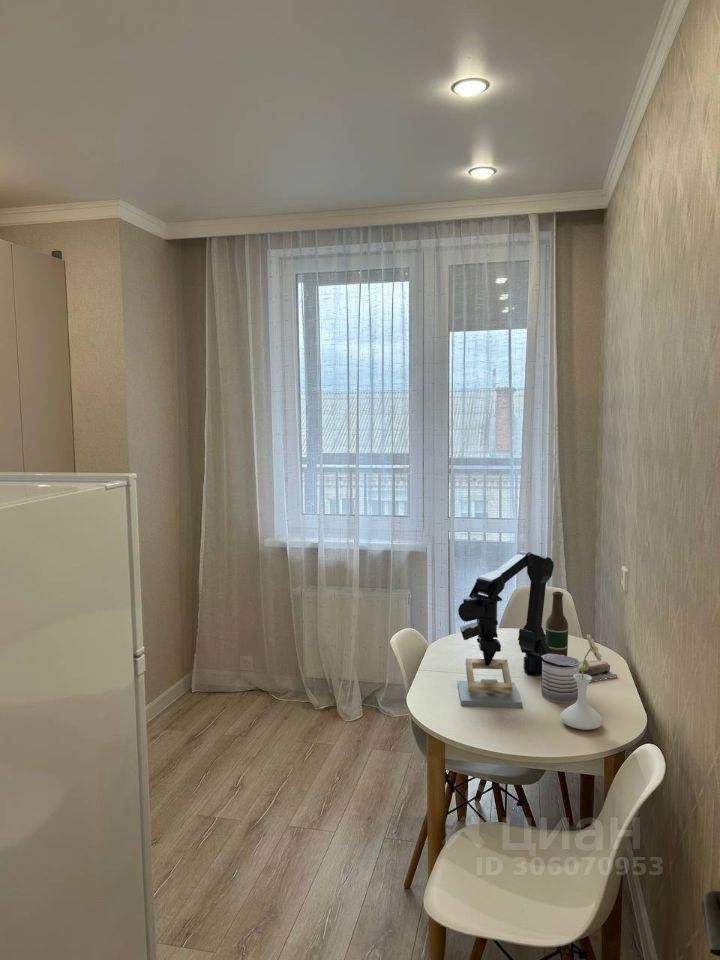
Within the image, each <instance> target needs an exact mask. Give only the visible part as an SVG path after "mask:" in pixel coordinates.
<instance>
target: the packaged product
mask: <svg viewBox="0 0 720 960" xmlns="http://www.w3.org/2000/svg"><path fill="white" fill-rule="evenodd" d="M579 662H580V661H579ZM587 662H588V665H589V668H588V669H587V668H586V667H585V665H584V668H586V669H587V670H585V671H583V674H587V675H589V676H591V677H592V679H591V680H590V681H593V682H596V681H595V680H600V679H605V678H610V677H615V676H617V677H618V674H617V673H616V672H613V671H611V664H609V663H608V662H607V661H605V660H602V661H598V660H597V659H595V660H594V659H593V660H587ZM580 663H581V664H579V670H580V669H582V668H583V661H581V662H580ZM579 674H582V671H579ZM600 681H601V680H600Z"/></svg>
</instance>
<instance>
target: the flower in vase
mask: <svg viewBox="0 0 720 960" xmlns="http://www.w3.org/2000/svg"><path fill="white" fill-rule="evenodd" d="M586 639H587V642H588V645H589V649H588V650H587V652H586V654H585V655H584V658H583V661H582V662H583V668H582V669H580V670H578V671H582V674H574V675H573V677H574V678H575V680H576V682H577V687H578V699H577V700H576V701H575V702H574V703H573V704H572V705H569V706H568V707H566V708H564V710H563V711H561V713H560V715H559V717H560V720H561V721H562V722H563V724H565V725H566V726H569V727H570V728H574V729H576V730H577V729H578V730H583V731H585V730H586V731H589V730H596V729H599V728H600V727H601V726H602V725H603V724H604V720H603V718H602V716H601V715H600V714H599V713H598V712H597V710H595V709H594V708H593V707H592V706H591V705H589V704H588V701H587V700H588V699H587V690H588V686H589V683H591V682H590V680H591V679H592V677H591V676H589V675H587V674H583V671H585V670H587V669H588V668H589V665H588V662H587V661H588V660H586V659H587V658H588V657H587V656H588V655H589V654H590V652H591V653H592V654H593V656H594V657H595V658H596V659H595V660H598V661H603V660H602V655H601V654H600V652H599V647H598V646H597V645H596V643H595V640H594V639H593V638H592V636H591V634H587V635H586ZM584 665H585V667H586V668H587V669H586V668H584Z"/></svg>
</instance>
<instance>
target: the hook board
mask: <svg viewBox="0 0 720 960" xmlns="http://www.w3.org/2000/svg"><path fill="white" fill-rule="evenodd" d="M474 682H481V683H504V681H499V680H498V679H496V678H495V679H492V678H489V679H488V678H485V679H484V678H481V679H480V680H474ZM511 682H512V681H511ZM457 685H458V686H457ZM457 685H456V686H457V691H458V697H459V701H460V706H465V707H466V706H469V707H494V706H499V708H500V707H501V708H523V700H522V699H521V696H520V695H521V694H520V692H519V691H518V688H517V686H516V683H515V682H512V687H513V689H512V694H504V693H470V692H468V683H467V680H457Z"/></svg>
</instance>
